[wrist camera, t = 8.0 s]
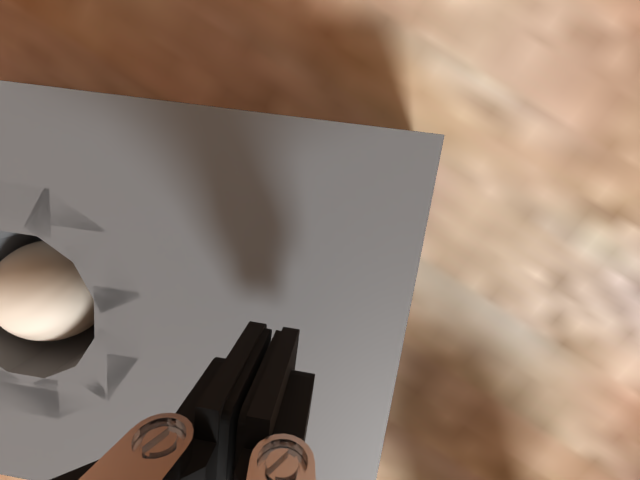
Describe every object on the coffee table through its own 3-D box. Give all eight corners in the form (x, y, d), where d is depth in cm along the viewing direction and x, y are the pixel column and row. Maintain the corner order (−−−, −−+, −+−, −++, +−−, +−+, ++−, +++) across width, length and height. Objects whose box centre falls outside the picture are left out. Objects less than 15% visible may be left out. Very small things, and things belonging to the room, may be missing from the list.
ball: (95, 215, 16) (147, 276, 20) (6, 221, 17) (73, 279, 21) (29, 304, 13) (106, 358, 16) (-78, 307, 14) (19, 359, 17)
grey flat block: (-6, 93, 17) (-143, 62, 13) (415, 145, 16) (444, 135, 11) (16, 392, 21) (-82, 458, 16) (359, 453, 20) (363, 543, 15)
